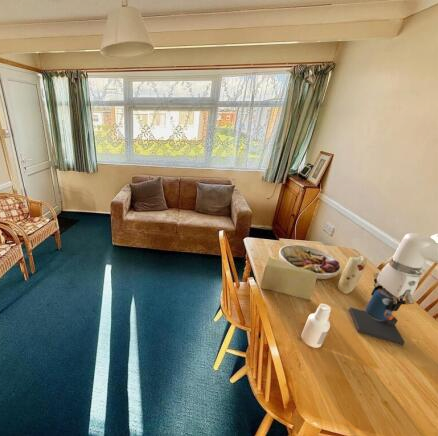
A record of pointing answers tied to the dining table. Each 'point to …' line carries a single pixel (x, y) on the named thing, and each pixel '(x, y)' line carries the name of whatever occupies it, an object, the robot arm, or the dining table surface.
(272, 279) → the cheese
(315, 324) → the white bottle
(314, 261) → the bowl
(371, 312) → the soda can
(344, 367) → the dining table surface
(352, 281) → the food model
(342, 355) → the dining table surface
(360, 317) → the scale
